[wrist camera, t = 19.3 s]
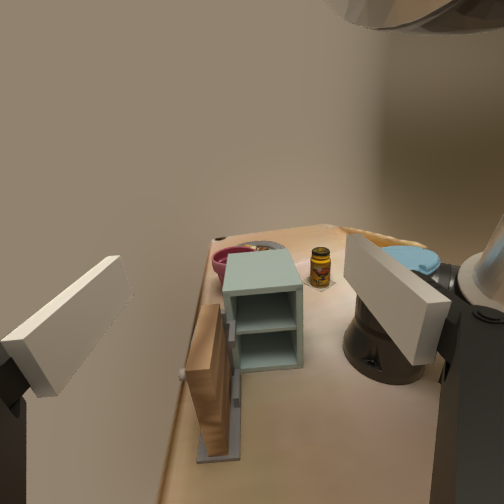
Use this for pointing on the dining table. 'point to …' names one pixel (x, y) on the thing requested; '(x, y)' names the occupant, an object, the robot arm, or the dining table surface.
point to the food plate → (262, 245)
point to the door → (210, 380)
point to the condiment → (320, 269)
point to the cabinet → (258, 325)
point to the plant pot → (221, 259)
